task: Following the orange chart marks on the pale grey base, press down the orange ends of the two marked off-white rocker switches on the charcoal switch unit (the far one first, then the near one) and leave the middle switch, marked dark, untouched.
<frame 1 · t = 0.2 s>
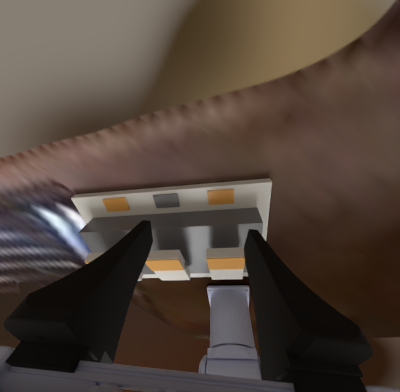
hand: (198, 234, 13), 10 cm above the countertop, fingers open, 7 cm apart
rocker c: (117, 268, 22), point 6 cm above the countertop, hinge at -15.0°
switch unit: (179, 236, 27), on the countertop
rocker a: (226, 265, 21), point 6 cm above the countertop, hinge at -15.0°
rocker b: (169, 266, 21), point 6 cm above the countertop, hinge at -15.0°
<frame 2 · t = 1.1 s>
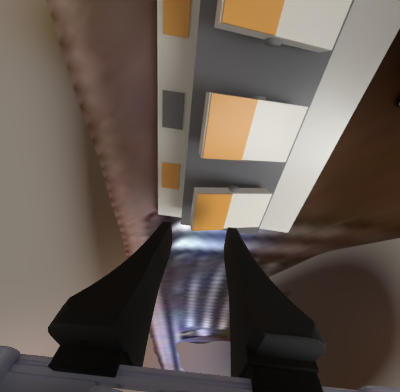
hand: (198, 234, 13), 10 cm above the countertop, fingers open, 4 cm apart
rocker c: (229, 208, 16), point 6 cm above the countertop, hinge at -15.0°
switch unit: (248, 120, 17), on the countertop
rocker b: (250, 131, 12), point 6 cm above the countertop, hinge at -15.0°
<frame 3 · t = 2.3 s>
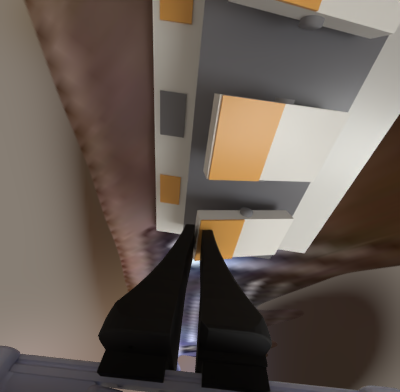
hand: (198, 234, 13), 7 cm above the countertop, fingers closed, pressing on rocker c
rocker c: (239, 234, 13), point 6 cm above the countertop, hinge at -14.0°, touching gripper
switch unit: (262, 126, 14), on the countertop
rocker b: (271, 144, 9), point 6 cm above the countertop, hinge at -15.0°
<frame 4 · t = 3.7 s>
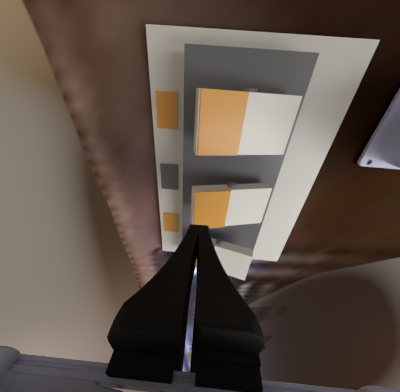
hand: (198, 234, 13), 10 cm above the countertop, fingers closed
rocker c: (217, 256, 19), point 6 cm above the countertop, hinge at 15.0°
switch unit: (232, 178, 21), on the countertop
rocker a: (244, 125, 12), point 6 cm above the countertop, hinge at -15.0°
rocker b: (229, 206, 16), point 6 cm above the countertop, hinge at -15.0°
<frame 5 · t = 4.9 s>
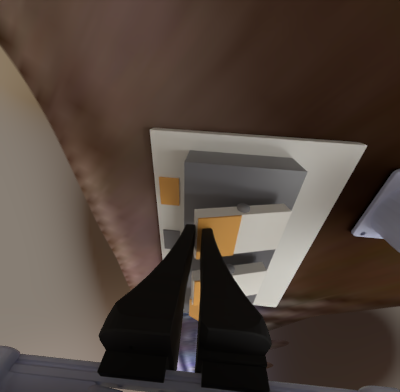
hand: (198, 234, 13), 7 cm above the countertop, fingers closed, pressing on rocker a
rocker c: (216, 316, 21), point 6 cm above the countertop, hinge at 20.4°
switch unit: (231, 239, 22), on the countertop
rocker a: (239, 231, 13), point 6 cm above the countertop, hinge at -14.8°, touching gripper
rocker b: (227, 283, 17), point 6 cm above the countertop, hinge at -15.0°
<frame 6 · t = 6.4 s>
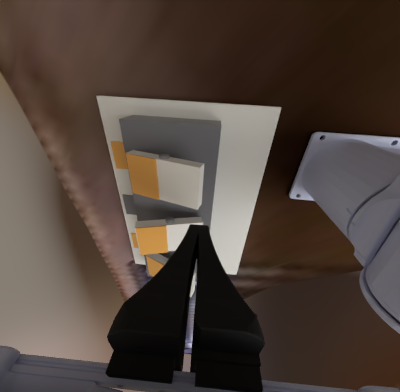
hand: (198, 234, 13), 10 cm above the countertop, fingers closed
rocker c: (170, 273, 23), point 6 cm above the countertop, hinge at 22.5°
switch unit: (186, 205, 24), on the countertop
rocker a: (164, 179, 15), point 6 cm above the countertop, hinge at 16.0°
rocker b: (170, 235, 19), point 6 cm above the countertop, hinge at -15.0°
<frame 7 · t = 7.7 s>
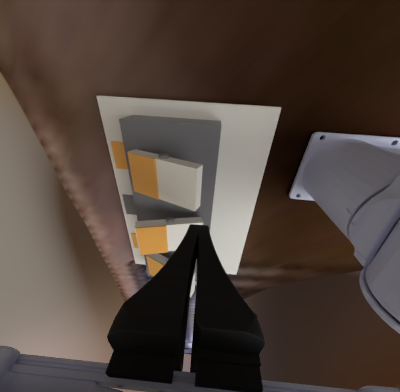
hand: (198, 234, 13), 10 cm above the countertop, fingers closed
rocker c: (170, 273, 23), point 6 cm above the countertop, hinge at 23.1°
switch unit: (186, 205, 24), on the countertop
rocker a: (164, 179, 15), point 6 cm above the countertop, hinge at 21.4°
rocker b: (170, 235, 19), point 6 cm above the countertop, hinge at -15.0°
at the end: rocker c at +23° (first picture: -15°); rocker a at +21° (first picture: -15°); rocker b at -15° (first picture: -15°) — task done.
